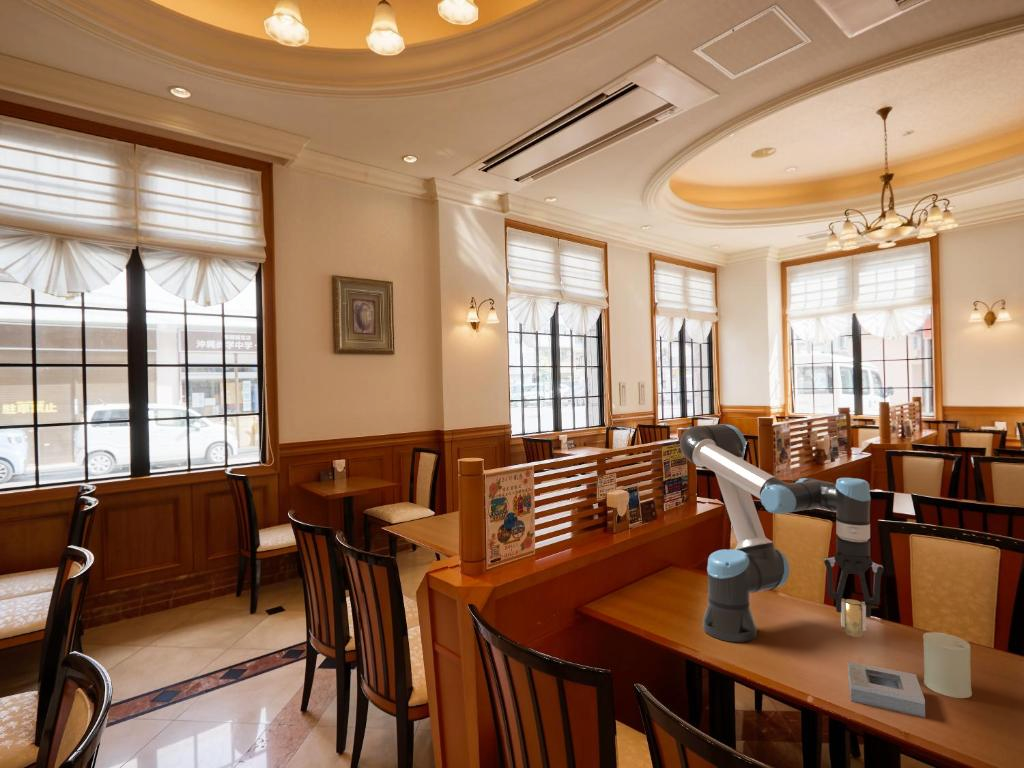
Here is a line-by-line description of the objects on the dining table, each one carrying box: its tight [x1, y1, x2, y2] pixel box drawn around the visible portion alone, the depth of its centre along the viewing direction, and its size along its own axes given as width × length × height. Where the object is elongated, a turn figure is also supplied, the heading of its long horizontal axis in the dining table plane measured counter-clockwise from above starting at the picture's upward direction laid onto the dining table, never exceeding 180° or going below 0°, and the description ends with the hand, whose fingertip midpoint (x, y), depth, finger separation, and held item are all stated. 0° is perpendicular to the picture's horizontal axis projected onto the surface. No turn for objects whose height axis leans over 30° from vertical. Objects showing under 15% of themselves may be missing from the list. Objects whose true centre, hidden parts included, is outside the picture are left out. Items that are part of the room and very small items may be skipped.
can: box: [922, 631, 973, 699], centre depth 132 cm, size 9×9×12 cm
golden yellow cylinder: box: [843, 598, 864, 638], centre depth 143 cm, size 4×4×8 cm
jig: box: [847, 660, 926, 719], centre depth 129 cm, size 14×12×4 cm
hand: (853, 626), depth 143 cm, fingers closed on golden yellow cylinder, 4 cm apart
